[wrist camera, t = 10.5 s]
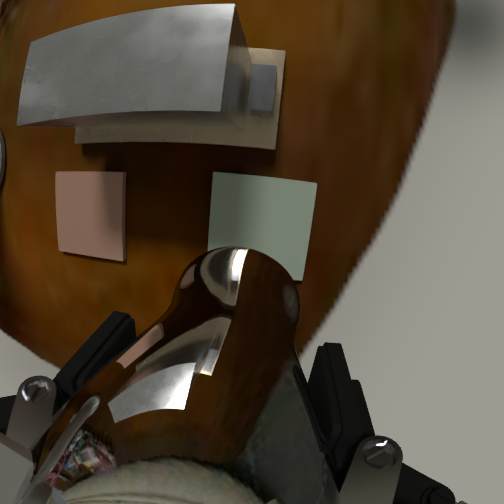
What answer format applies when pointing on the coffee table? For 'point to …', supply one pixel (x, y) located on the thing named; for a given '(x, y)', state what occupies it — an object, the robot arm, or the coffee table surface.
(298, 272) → the sage pad
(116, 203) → the terracotta pad
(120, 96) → the grey unit
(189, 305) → the chrome vase
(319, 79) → the coffee table surface
